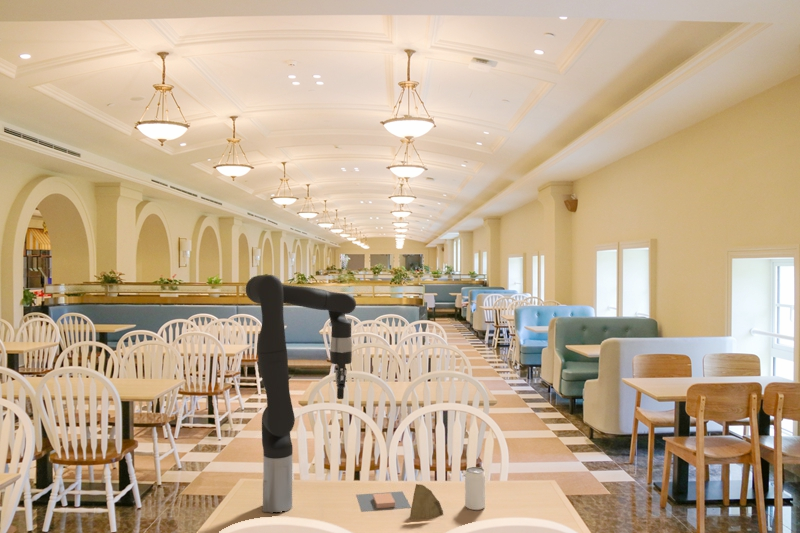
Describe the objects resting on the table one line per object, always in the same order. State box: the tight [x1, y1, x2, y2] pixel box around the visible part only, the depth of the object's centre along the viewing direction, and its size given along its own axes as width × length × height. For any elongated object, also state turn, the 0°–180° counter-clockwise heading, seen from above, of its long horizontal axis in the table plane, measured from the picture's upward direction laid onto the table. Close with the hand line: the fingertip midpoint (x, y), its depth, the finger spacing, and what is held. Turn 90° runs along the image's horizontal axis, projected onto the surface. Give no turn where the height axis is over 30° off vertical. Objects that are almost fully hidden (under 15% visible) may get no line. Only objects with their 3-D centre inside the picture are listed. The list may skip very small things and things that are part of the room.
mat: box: [355, 491, 412, 513], centre depth 194 cm, size 16×14×1 cm
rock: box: [409, 483, 444, 520], centre depth 183 cm, size 11×9×10 cm
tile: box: [372, 492, 395, 508], centre depth 192 cm, size 6×2×8 cm
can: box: [464, 466, 486, 511], centre depth 191 cm, size 6×6×12 cm
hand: (340, 398), depth 208 cm, fingers closed
